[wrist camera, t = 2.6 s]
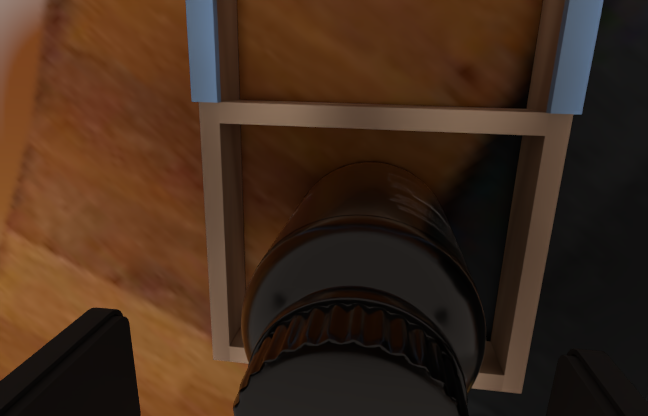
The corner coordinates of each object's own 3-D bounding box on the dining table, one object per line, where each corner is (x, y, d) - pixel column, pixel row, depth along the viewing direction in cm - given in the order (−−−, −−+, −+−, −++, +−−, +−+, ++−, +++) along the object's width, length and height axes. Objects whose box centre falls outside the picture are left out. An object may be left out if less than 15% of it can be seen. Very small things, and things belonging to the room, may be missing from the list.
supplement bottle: (277, 182, 20) (126, 322, 8) (425, 140, 18) (493, 237, 7) (321, 313, 21) (247, 583, 10) (461, 283, 20) (566, 558, 8)
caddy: (607, -230, 14) (662, -306, 11) (507, 357, 20) (526, 400, 18) (207, -206, 16) (169, -267, 13) (229, 329, 22) (207, 365, 19)
